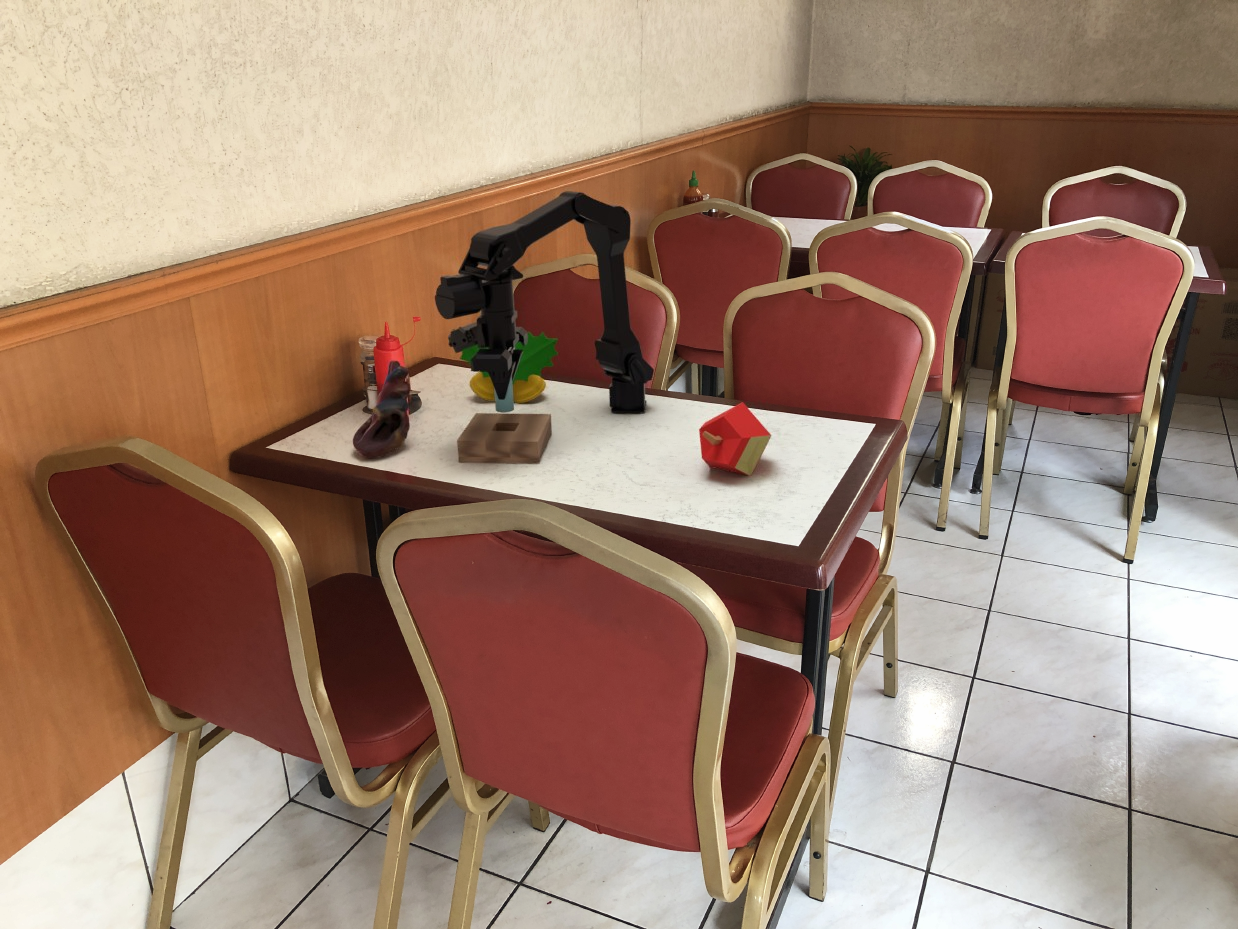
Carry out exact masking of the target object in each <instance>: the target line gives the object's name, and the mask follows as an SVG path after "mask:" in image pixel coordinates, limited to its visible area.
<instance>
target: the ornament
mask: <svg viewBox="0 0 1238 929" xmlns="http://www.w3.org/2000/svg"><path fill="white" fill-rule="evenodd" d="M527 336H528V342H527V344H526V345H525V346H522V344H521V342H517V343H516V345H515V349H521V350H523V353H522V356H521V359H520V362H519V365H518V368H517V370H516V373H515V376H514V379H513V382H512V386H513V400H514V403H515V402H516V403H515V404H522V403H523V404H524V403H527V402H530V401H532V400H534V399H536V398H538V397H539V396H540V395H542V393H543V392H544V391H545V389H546V387H547V382H546V381H545V379H544V378H542V370H543V369H544V368H546V367H549V368H551V367H554V364H553V361H552V358H553V357H555V356H558V355H559V353H558V352H557V351H556V348H555V346H556V343H557V342H558V338H548V337H547V336H546V335H545V333H544V332H541V333H540V334H538V336H534V335H533V334H532V333H531V332H530V331H527ZM479 349H488V347H485V348H478V344H477V345H474V346H472V347H469V348H466V349H464V350H462V351H461V353H462V354H461V355H460V357H459V360H461V361H464V362H467V363H468V364H469V365H470V366H471V362H470V360H471V359H472V357H473V356H474V355H475V354H476V353H477V352H478V351H479ZM469 388H470V389H471V390H472V393H474V394H475V395H476V396H477V397H479V398H480V399H483V400H485V401H489V402H495V393H494V386H493V383H492V380H491V378H490V376H489V374H488V373H487V372H476V373H475V375H473V376H472V377H471V378H470V381H469Z"/></svg>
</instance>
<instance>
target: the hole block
mask: <svg viewBox="0 0 1238 929" xmlns="http://www.w3.org/2000/svg"><path fill="white" fill-rule="evenodd" d="M552 426H553V425H552V413H509V412H506V413H501V412H497V413H496V412H495V413H493V412H492V413H491V412H489V413H487V412H476V413H475V414H474V416H472V418H471V419H470V421H469V423H468V424H467V425H466V427H465V428H464V430H463V431H462V433H461V434H460V435H459V437H458V438H457V439H456V445H457V455H458V456H457V457H458V463H477V464H479V463H481V464H482V463H486V464H487V463H489V464H536V465H537V464H540V462H541V459H542V457H543V456H544V452H545V451H546V449H547V446H548V444H549V442H550V441H551V438H552V435H553V430H552V429H553V427H552Z"/></svg>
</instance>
